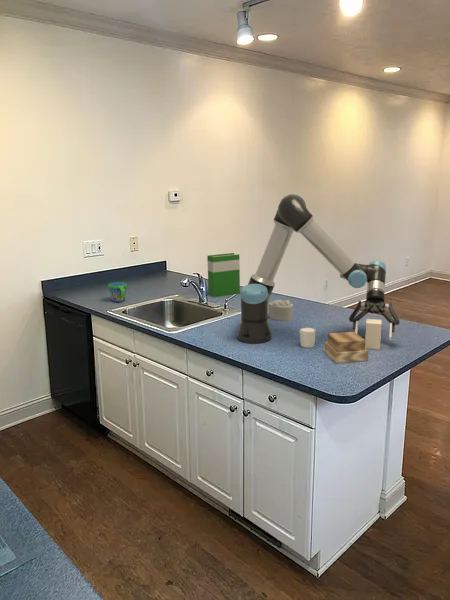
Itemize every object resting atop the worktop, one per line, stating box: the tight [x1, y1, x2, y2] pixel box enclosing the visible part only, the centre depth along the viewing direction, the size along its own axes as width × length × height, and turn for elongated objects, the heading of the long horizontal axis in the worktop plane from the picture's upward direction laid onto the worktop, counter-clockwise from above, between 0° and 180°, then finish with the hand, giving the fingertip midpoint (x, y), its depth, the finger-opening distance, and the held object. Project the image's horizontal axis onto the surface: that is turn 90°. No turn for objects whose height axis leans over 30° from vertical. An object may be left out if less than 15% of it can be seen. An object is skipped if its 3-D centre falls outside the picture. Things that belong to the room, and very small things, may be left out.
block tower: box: [323, 331, 369, 364], centre depth 197 cm, size 13×13×8 cm
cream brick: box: [364, 318, 383, 350], centre depth 207 cm, size 6×6×11 cm
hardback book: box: [206, 252, 241, 298], centre depth 299 cm, size 18×7×24 cm, turn 117°
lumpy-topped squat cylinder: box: [268, 299, 294, 322], centre depth 250 cm, size 10×13×9 cm
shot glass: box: [299, 327, 317, 348], centre depth 210 cm, size 7×7×7 cm
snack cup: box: [107, 281, 128, 303], centre depth 290 cm, size 16×10×10 cm
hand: (372, 337), depth 205 cm, fingers open, 13 cm apart
